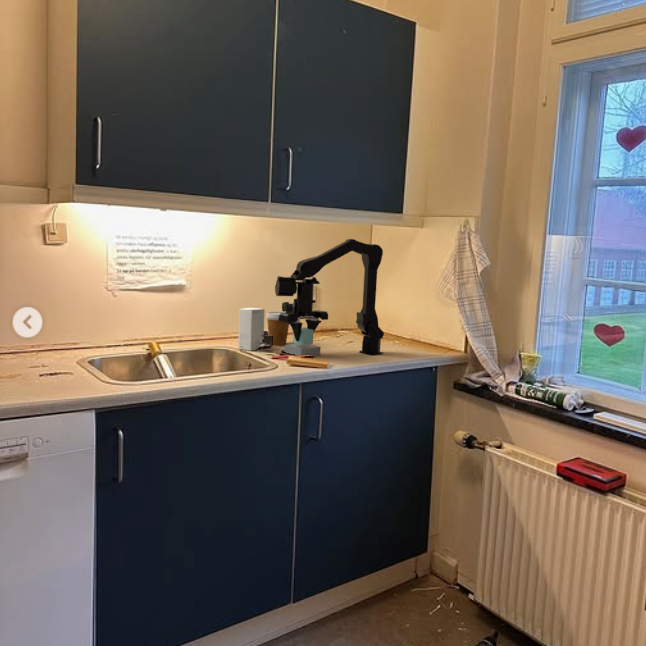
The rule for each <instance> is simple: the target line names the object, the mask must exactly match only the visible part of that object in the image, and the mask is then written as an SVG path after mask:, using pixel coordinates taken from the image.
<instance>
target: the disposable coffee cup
mask: <svg viewBox="0 0 646 646" xmlns="http://www.w3.org/2000/svg"><path fill="white" fill-rule="evenodd" d="M280 313H284V312H283V311H268V312H267V314H266V315H265V316H266V320H267V322H266V323H267V330H268V331H267V332H268V333H269V334H270V335H272V336H273V345H274V347H275V346H276V347H282V346H284V347H285V345H287V338H288V333H289V327H290V324H289V323H286V322H283V321H279V315H280ZM269 334H268V335H269ZM273 345H272V346H273Z"/></svg>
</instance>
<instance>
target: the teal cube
mask: <svg viewBox="0 0 646 646" xmlns="http://www.w3.org/2000/svg"><path fill="white" fill-rule="evenodd" d="M313 332H314V333H315V331H314V330H312V329H308V328H307V327H302V328H301V334H300V338H299V341H296V339H295V336H294V333H293V332H292V333H293V335H292V336H293V338H292V344H300V345H307V344H311V345H314V333H313Z"/></svg>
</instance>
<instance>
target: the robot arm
mask: <svg viewBox="0 0 646 646" xmlns="http://www.w3.org/2000/svg"><path fill="white" fill-rule="evenodd" d="M350 252H354V253H356V254H359V255H361V261H362V265H363V268H364V275H363V294H362V307H361V310H360V312H358V311H357V312H356V320H355V324H357V328H358V329H359V330H360V332H361V334H362V343H361V345H362V346H361V350H359V353H361V354H366V355H369V356H374V355H381V354H384V351H381V343H382V339H383V338H384V334H385V331H383V330H382V328H381V327H380V326H379V317H378V315H377V311H376V300H377V299H376V297H377V282H378V279H377V278H378V270H379V267H380V265H381V263H382V259H383V255H384V250H383V248H382V247H381V246H380V245H379V244H376V243H375V244H374V243H364V242H362V241H359V240H356V239H353V238H348V239H345V241H343V242H341V243H339V244H337V245H336V246H333V247H332V248H330V249H328V250H326V251H325V252H323V253H321V254H319V255H316V256H312V257H309V258H306V259H302V260H300V261H298V262H297V264H296V266H295V267H296V268H295V270H294V271H293V272H292V274H291V275H290V276H282V275H281V276H277V277H276V279H277V280H276V281H275V285H274V293H275V296H276V297H294V295H296V298H294V299H293V302H292V303H290V302H289V301H284V302H282V303H281V310H282V311H281V312H284V313H280V315H279V321H283V322H286V323H289V326H290V327H291V330H292V333H294V336H295V339H296V341H299V338H300V334H301V328H303V327H302V326H303V322H301V320H305V323H306V328H308V329H312V330H314V332H313V334H314V333H315V331H316V329H317V328H318V327H319V325H320V323H322V321H326V320H327V321H328V320H329V313H328V311H324V310H320V309H317V310H316V309H314V310H313V307H314V306H313V305H314V304H315V303H316V299H314V285H320V281H319V280H318V279H317V277H316V276H315V275H317V274H318V273H319V272H320V271H321V270H322V269H323V268H324V267H325V266H328V265H329V264H331V263H333V262H334V261H336V260H338V259H340V258H341V257H344V256H345V255H347V254H349V253H350Z"/></svg>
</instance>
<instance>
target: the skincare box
mask: <svg viewBox="0 0 646 646" xmlns="http://www.w3.org/2000/svg"><path fill="white" fill-rule="evenodd" d="M238 311H239V312H238V313H239V314H238V344H237V345H238V348H237V349H239V350H243V351H247V350H249V352H253V351H256V349H257V350H259V349H258V348H259V347H260V343H261V341H262V340H263V339H264V338H265V313H266V312H265V308H261V307H243V308H239V309H238ZM264 340H265V339H264ZM252 350H253V351H252Z"/></svg>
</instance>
